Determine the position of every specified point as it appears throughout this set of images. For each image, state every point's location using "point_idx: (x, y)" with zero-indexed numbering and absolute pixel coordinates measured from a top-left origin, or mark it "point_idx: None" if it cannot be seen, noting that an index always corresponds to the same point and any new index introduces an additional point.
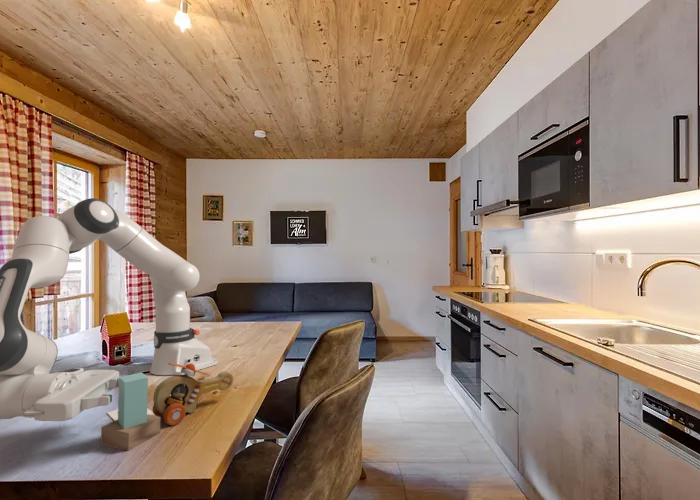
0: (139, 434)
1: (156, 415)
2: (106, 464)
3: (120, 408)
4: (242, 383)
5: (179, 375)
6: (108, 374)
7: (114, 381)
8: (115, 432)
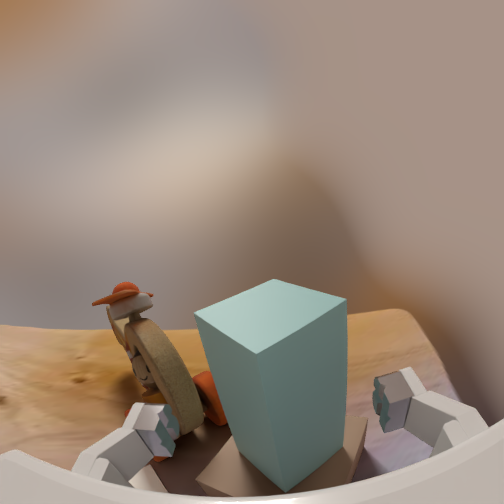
0: None
1: (173, 453)
2: (428, 446)
3: (306, 442)
4: (70, 351)
5: (135, 323)
6: (41, 486)
7: (113, 474)
8: (352, 466)
